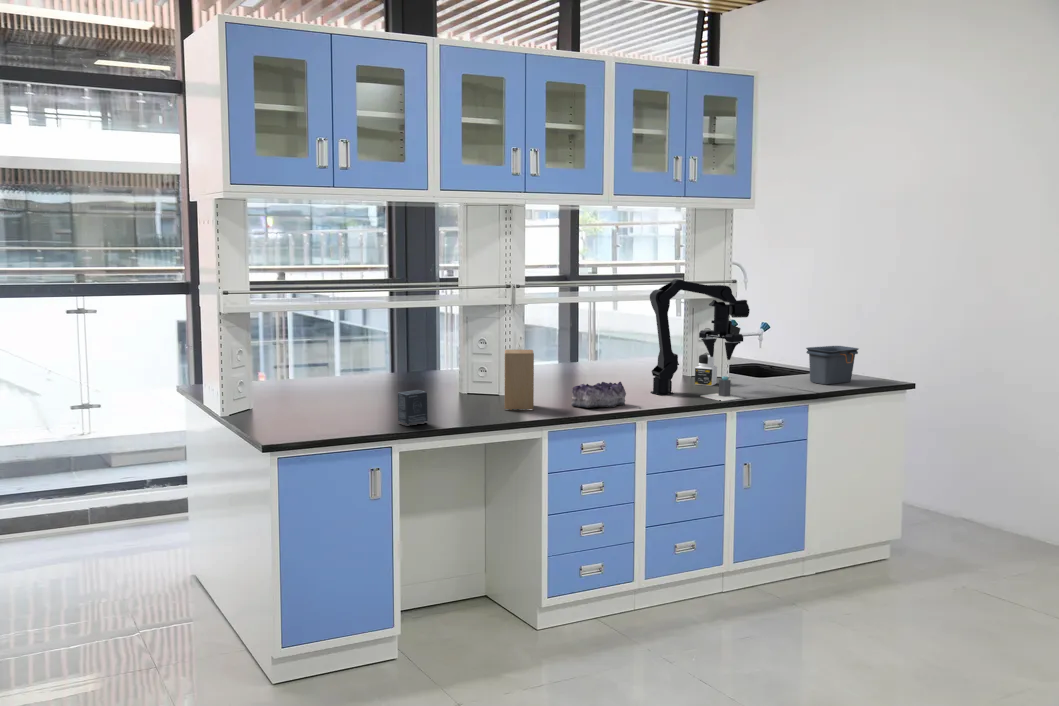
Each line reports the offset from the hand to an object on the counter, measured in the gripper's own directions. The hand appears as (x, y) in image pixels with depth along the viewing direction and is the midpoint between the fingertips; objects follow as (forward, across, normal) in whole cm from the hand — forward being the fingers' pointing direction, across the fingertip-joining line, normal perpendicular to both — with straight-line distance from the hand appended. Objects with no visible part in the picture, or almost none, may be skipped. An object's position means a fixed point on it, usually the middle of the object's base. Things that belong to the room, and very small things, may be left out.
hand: (720, 358), depth 374 cm
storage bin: (+13, -8, -56) cm, 58 cm away
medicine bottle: (+13, +16, -8) cm, 22 cm away
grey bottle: (+13, -9, +6) cm, 17 cm away
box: (+13, +6, +128) cm, 129 cm away
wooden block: (+13, +12, +84) cm, 86 cm away
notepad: (+13, -10, +8) cm, 18 cm away
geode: (+13, 0, +58) cm, 59 cm away
